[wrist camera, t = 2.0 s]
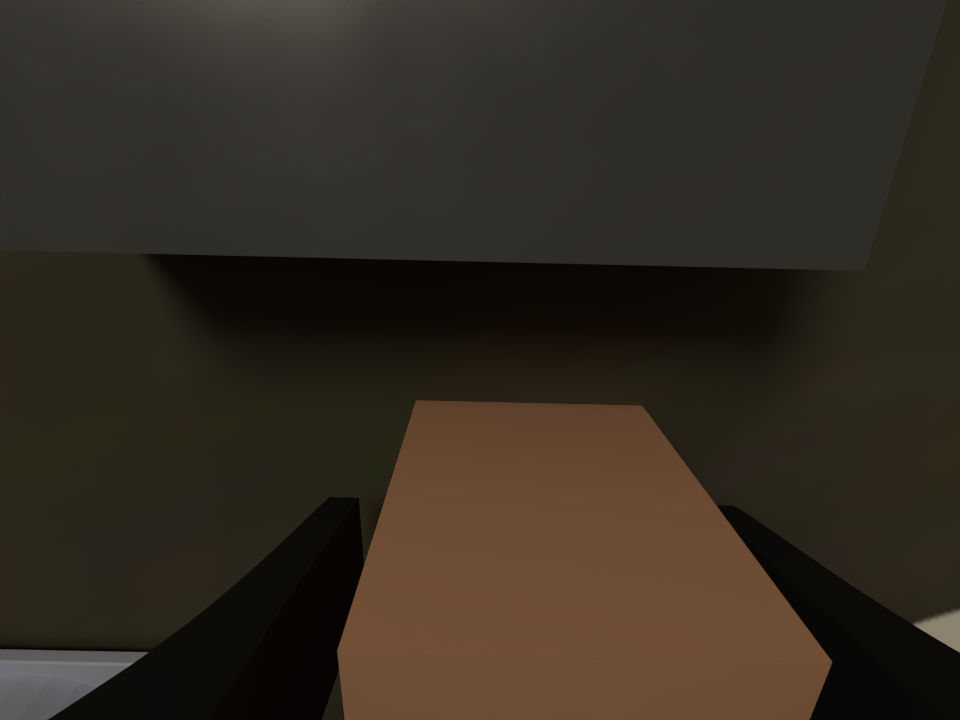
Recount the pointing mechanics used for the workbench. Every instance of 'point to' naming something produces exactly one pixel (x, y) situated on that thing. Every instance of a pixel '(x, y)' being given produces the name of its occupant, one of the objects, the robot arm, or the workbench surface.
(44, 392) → the workbench surface
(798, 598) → the robot arm
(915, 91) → the steel base
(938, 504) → the workbench surface
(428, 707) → the terracotta block
